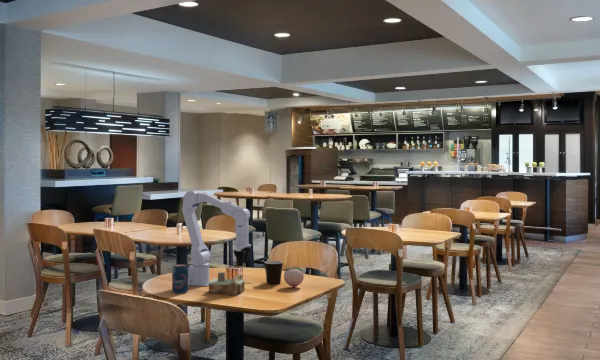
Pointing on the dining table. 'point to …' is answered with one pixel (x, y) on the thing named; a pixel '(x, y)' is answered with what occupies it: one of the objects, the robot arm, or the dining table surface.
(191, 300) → the dining table surface
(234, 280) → the key
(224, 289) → the toolbox
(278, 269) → the coffee mug
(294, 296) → the dining table surface
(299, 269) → the decorative fruit
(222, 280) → the lid
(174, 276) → the soda can
